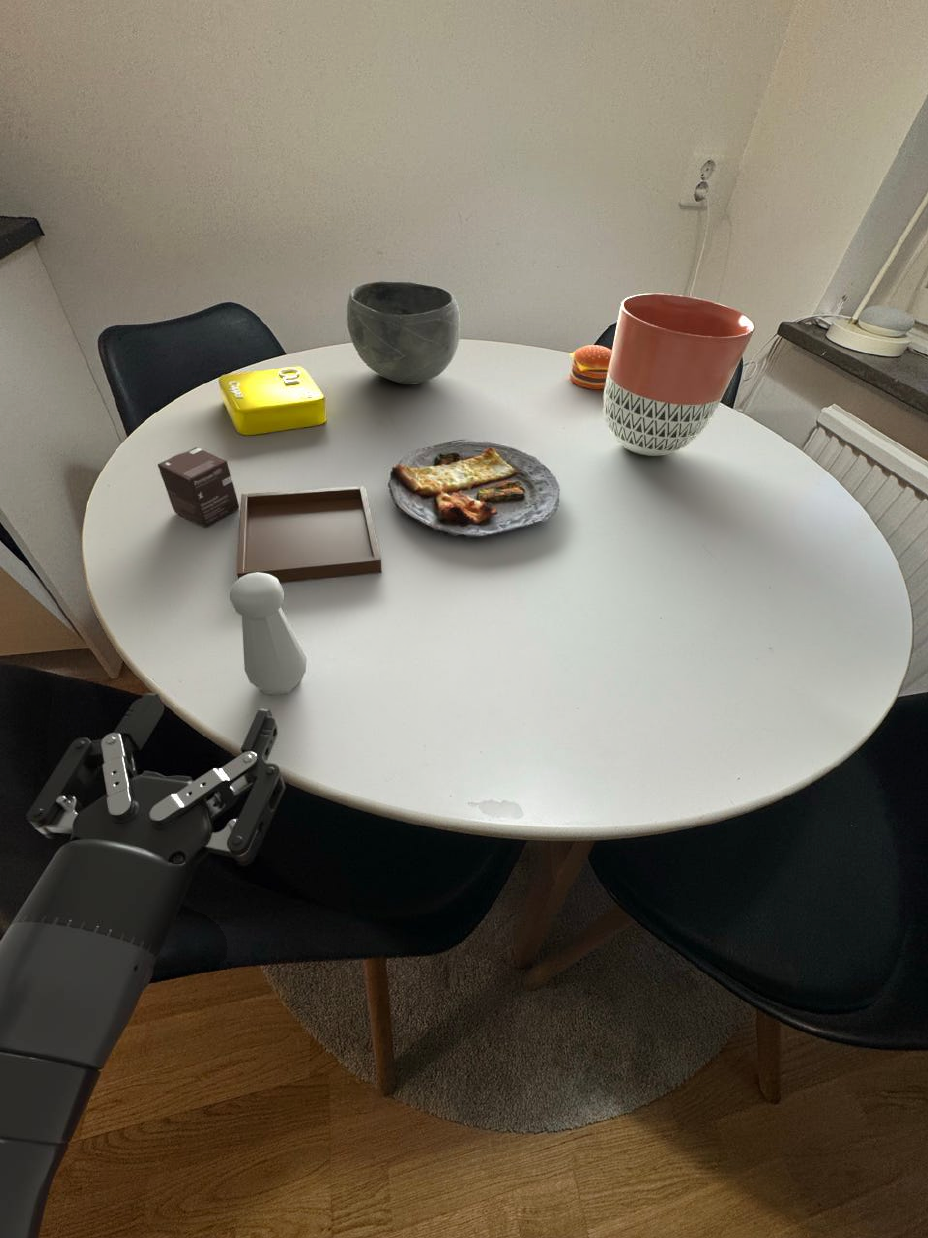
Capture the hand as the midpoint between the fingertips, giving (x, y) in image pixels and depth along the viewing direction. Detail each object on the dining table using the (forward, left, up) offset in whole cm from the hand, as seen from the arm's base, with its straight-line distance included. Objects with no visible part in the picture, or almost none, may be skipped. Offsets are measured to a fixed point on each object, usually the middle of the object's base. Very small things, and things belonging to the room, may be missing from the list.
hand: (211, 707), depth 41 cm
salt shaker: (+4, +10, -10) cm, 14 cm away
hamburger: (+68, +79, -10) cm, 104 cm away
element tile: (+4, +70, -10) cm, 71 cm away
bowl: (+29, +83, -10) cm, 88 cm away
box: (-5, +41, -10) cm, 42 cm away
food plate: (+32, +40, -10) cm, 52 cm away
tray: (+8, +33, -10) cm, 35 cm away
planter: (+66, +51, -10) cm, 84 cm away
